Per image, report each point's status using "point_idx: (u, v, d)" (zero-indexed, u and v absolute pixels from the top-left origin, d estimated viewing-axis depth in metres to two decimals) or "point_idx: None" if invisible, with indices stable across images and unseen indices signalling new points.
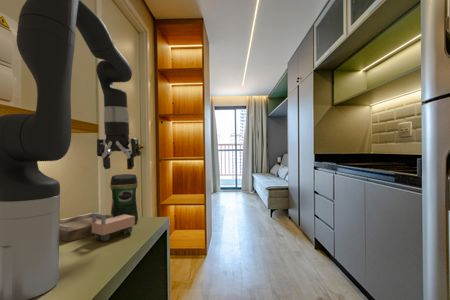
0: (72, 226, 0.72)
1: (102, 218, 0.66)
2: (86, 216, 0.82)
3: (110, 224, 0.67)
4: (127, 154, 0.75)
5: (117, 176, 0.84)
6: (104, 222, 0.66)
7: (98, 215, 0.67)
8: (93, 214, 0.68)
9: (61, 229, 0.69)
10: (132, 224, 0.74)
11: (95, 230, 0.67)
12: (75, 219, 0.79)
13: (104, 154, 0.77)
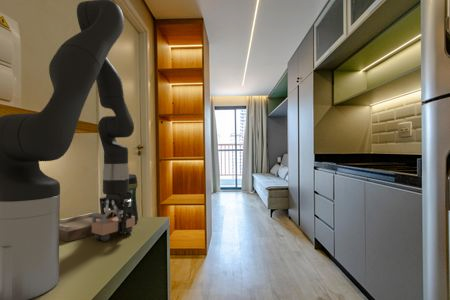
0: (72, 226, 0.72)
1: (102, 218, 0.66)
2: (86, 216, 0.82)
3: (110, 224, 0.67)
4: (119, 217, 0.69)
5: None
6: (104, 222, 0.66)
7: (98, 215, 0.67)
8: (93, 214, 0.68)
9: (61, 229, 0.69)
10: (132, 224, 0.74)
11: (95, 230, 0.67)
12: (75, 219, 0.79)
13: (106, 215, 0.72)
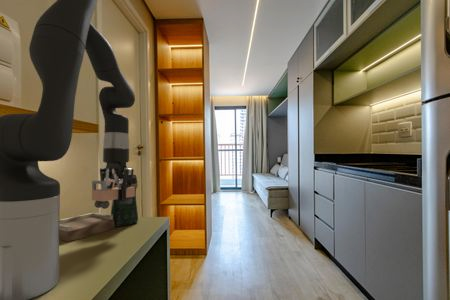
0: (72, 226, 0.72)
1: (102, 184, 0.66)
2: (86, 216, 0.82)
3: (110, 191, 0.68)
4: (118, 185, 0.70)
5: None
6: (104, 188, 0.66)
7: (98, 182, 0.67)
8: (93, 181, 0.68)
9: (61, 229, 0.69)
10: (132, 195, 0.74)
11: (95, 198, 0.67)
12: (75, 219, 0.79)
13: (106, 184, 0.73)
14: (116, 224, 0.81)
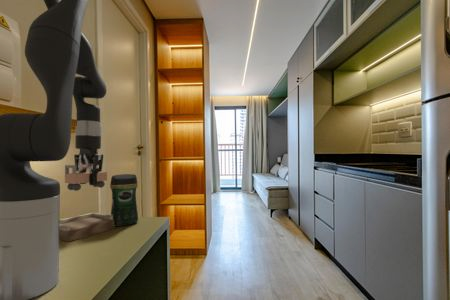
0: (72, 226, 0.72)
1: (73, 168, 0.72)
2: (86, 216, 0.82)
3: (81, 175, 0.73)
4: (89, 169, 0.75)
5: (117, 176, 0.84)
6: (75, 172, 0.72)
7: (70, 166, 0.72)
8: (66, 166, 0.74)
9: (61, 229, 0.69)
10: (104, 179, 0.80)
11: (67, 180, 0.73)
12: (75, 219, 0.79)
13: (79, 169, 0.78)
14: (116, 224, 0.81)
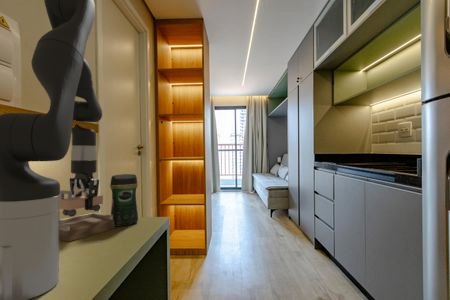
0: (72, 226, 0.72)
1: (68, 194, 0.71)
2: (86, 216, 0.82)
3: (77, 200, 0.73)
4: (85, 194, 0.75)
5: (117, 176, 0.84)
6: (70, 198, 0.72)
7: (65, 192, 0.72)
8: (61, 191, 0.73)
9: (61, 229, 0.69)
10: (100, 202, 0.80)
11: (63, 206, 0.73)
12: (75, 219, 0.79)
13: (75, 193, 0.78)
14: (116, 224, 0.81)
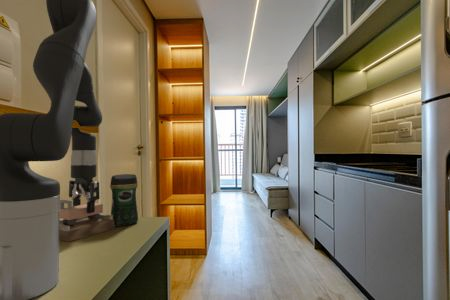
0: (72, 226, 0.72)
1: (68, 204, 0.71)
2: (86, 216, 0.82)
3: (76, 210, 0.73)
4: (87, 198, 0.74)
5: (117, 176, 0.84)
6: (70, 208, 0.71)
7: (65, 202, 0.72)
8: (61, 201, 0.73)
9: (61, 229, 0.69)
10: (100, 211, 0.80)
11: (62, 216, 0.73)
12: (75, 219, 0.79)
13: (73, 196, 0.79)
14: (116, 224, 0.81)
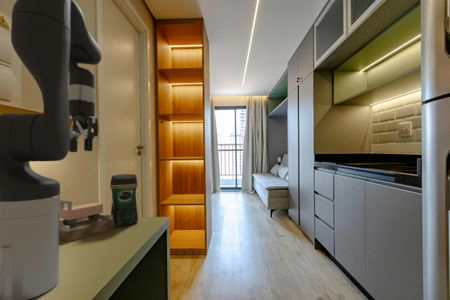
0: (72, 226, 0.72)
1: (68, 204, 0.71)
2: (86, 216, 0.82)
3: (76, 210, 0.73)
4: (84, 134, 0.70)
5: (117, 176, 0.84)
6: (70, 208, 0.71)
7: (65, 202, 0.72)
8: (61, 201, 0.73)
9: (61, 229, 0.69)
10: (100, 211, 0.80)
11: (62, 216, 0.73)
12: (75, 219, 0.79)
13: (69, 136, 0.74)
14: (116, 224, 0.81)
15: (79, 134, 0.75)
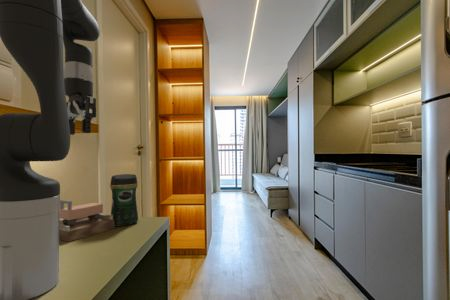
0: (72, 226, 0.72)
1: (68, 204, 0.71)
2: (86, 216, 0.82)
3: (76, 210, 0.73)
4: (82, 114, 0.65)
5: (117, 176, 0.84)
6: (70, 208, 0.71)
7: (65, 202, 0.72)
8: (61, 201, 0.73)
9: (61, 229, 0.69)
10: (100, 211, 0.80)
11: (62, 216, 0.73)
12: (75, 219, 0.79)
13: None
14: (116, 224, 0.81)
15: (77, 116, 0.71)
